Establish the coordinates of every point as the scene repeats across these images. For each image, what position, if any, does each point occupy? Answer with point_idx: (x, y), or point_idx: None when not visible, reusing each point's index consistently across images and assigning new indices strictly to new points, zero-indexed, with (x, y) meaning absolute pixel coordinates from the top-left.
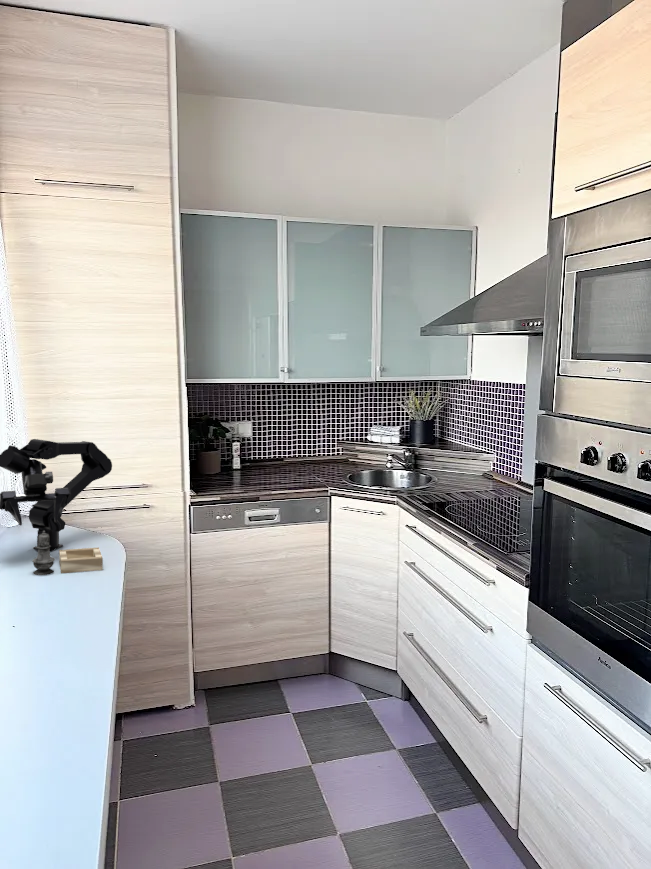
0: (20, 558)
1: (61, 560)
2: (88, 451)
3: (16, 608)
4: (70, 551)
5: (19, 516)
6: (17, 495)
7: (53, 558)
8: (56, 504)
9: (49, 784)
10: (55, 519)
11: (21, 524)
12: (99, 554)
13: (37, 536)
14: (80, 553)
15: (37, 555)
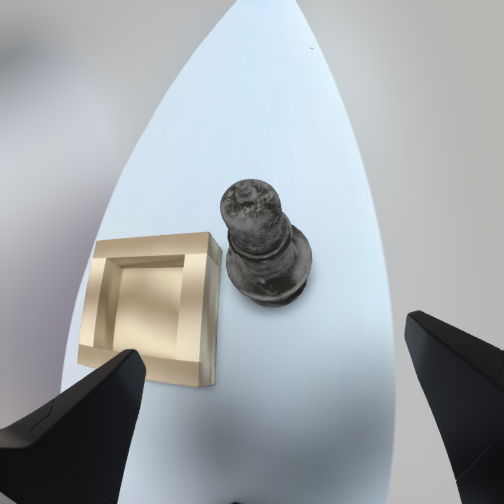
0: (349, 457)
1: (206, 238)
2: None
3: (319, 80)
4: (160, 358)
5: (454, 339)
6: None
7: (230, 261)
8: (32, 437)
9: None
10: (128, 351)
11: (407, 319)
12: (91, 281)
13: None
14: None
15: (290, 249)
